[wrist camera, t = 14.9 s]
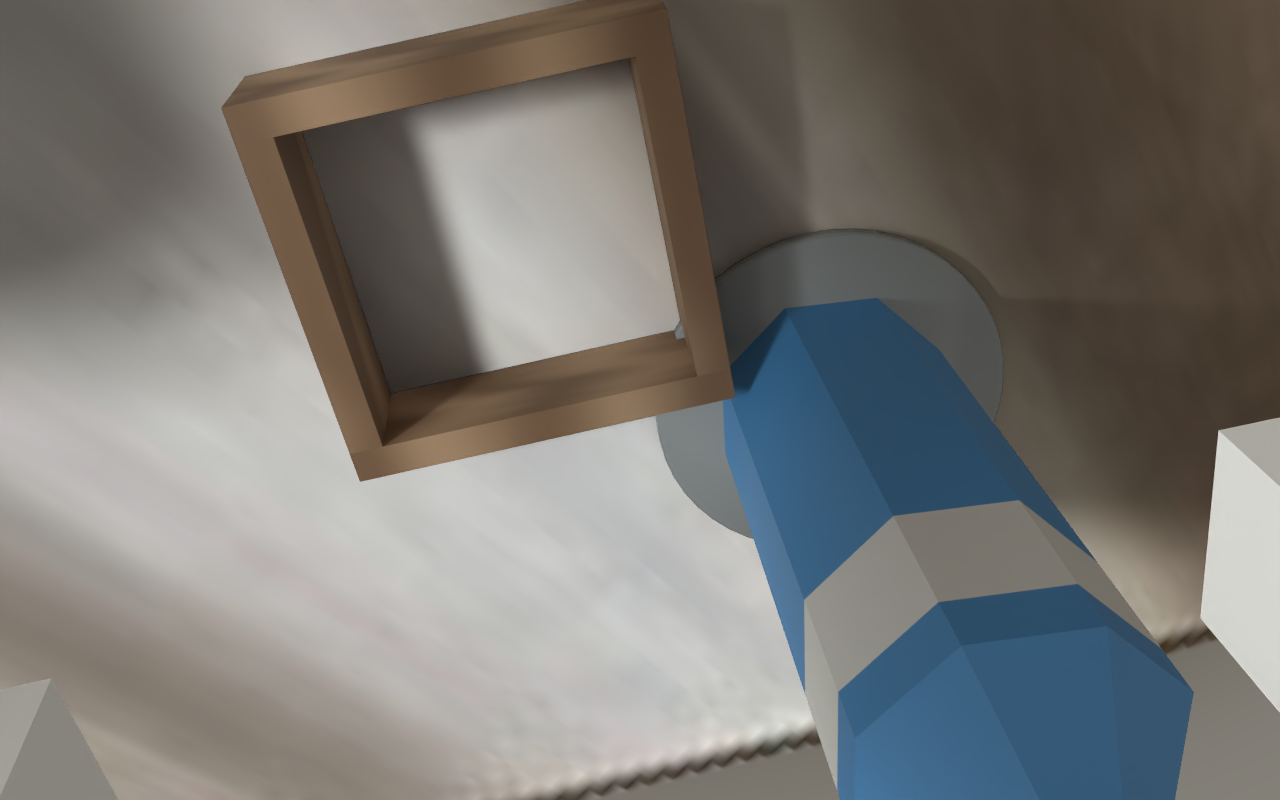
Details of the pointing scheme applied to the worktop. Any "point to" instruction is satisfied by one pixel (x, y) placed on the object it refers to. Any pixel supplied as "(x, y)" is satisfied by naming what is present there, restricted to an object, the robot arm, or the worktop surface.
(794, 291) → the coaster
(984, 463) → the water bottle
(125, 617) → the worktop surface
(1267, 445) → the robot arm
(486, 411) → the square wooden frame
